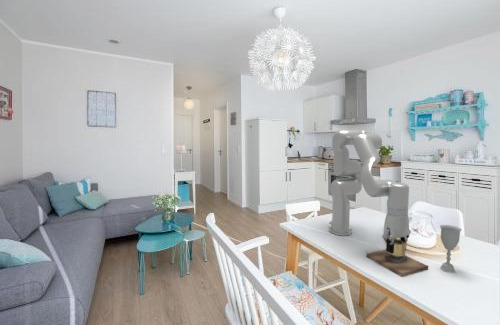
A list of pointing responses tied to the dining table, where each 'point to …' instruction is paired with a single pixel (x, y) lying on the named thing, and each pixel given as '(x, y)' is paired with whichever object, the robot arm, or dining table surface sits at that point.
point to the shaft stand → (397, 262)
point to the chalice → (449, 244)
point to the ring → (399, 247)
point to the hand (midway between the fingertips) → (396, 250)
